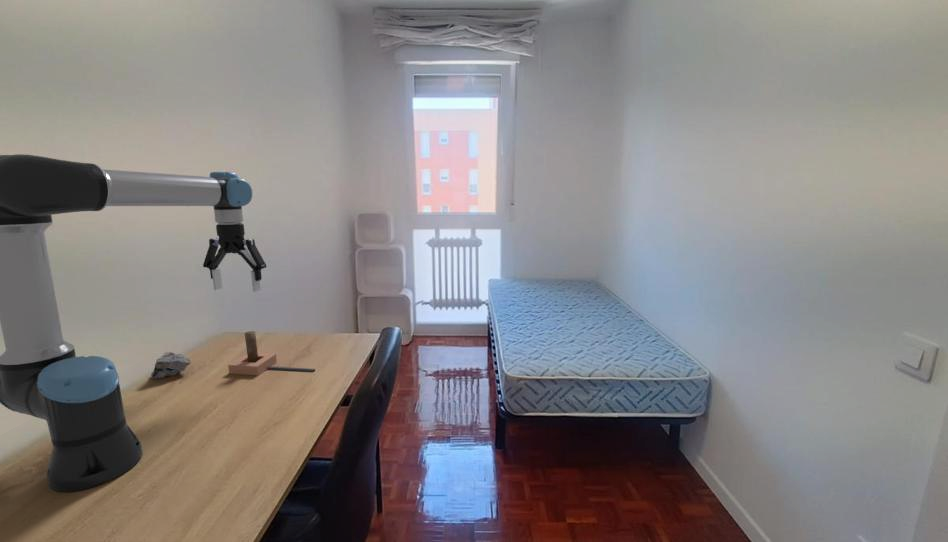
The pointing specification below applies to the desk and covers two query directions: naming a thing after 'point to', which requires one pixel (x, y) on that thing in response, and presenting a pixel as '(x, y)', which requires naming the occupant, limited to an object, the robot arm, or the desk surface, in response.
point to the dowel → (251, 346)
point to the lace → (290, 368)
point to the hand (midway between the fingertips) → (237, 289)
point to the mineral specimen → (169, 365)
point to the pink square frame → (252, 364)
